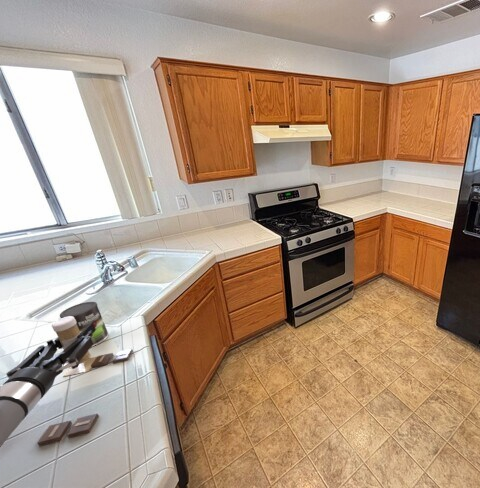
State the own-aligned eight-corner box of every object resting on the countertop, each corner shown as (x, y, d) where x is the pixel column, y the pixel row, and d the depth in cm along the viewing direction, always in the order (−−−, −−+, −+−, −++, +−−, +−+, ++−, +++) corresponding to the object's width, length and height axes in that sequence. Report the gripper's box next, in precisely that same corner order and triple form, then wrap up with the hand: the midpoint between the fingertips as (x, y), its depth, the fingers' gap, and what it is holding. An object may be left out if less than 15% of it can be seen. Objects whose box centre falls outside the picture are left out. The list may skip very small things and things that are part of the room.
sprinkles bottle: (73, 358, 76) (55, 318, 72) (93, 352, 78) (76, 313, 73) (67, 368, 72) (47, 327, 68) (88, 361, 74) (70, 322, 70)
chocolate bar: (63, 377, 84) (61, 373, 83) (76, 361, 90) (74, 358, 90) (126, 362, 88) (125, 359, 87) (134, 348, 94) (133, 345, 94)
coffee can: (115, 334, 103) (103, 303, 99) (85, 352, 94) (70, 319, 89) (98, 329, 107) (85, 299, 102) (67, 347, 97) (52, 314, 93)
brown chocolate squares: (38, 446, 63) (36, 442, 63) (51, 428, 67) (49, 425, 67) (89, 432, 66) (87, 428, 65) (99, 416, 70) (97, 412, 69)
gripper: (-22, 418, 55) (52, 345, 77) (75, 395, 60) (120, 332, 81) (-41, 391, 53) (41, 324, 74) (62, 369, 57) (112, 311, 78)
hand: (82, 328), depth 78 cm, fingers closed on sprinkles bottle, 4 cm apart
